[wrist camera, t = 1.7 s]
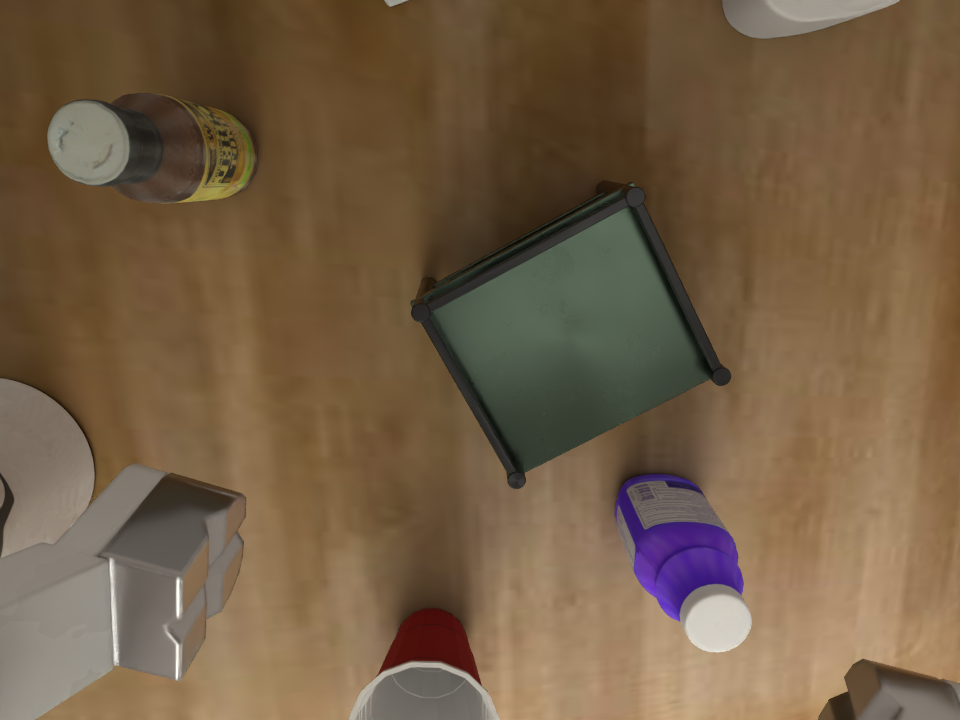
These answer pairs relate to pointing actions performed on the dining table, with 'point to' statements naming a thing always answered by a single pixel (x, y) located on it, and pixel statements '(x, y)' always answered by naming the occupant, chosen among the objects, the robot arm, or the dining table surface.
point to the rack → (568, 330)
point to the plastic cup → (427, 675)
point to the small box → (394, 2)
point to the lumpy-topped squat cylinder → (794, 15)
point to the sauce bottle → (153, 148)
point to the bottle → (684, 558)
